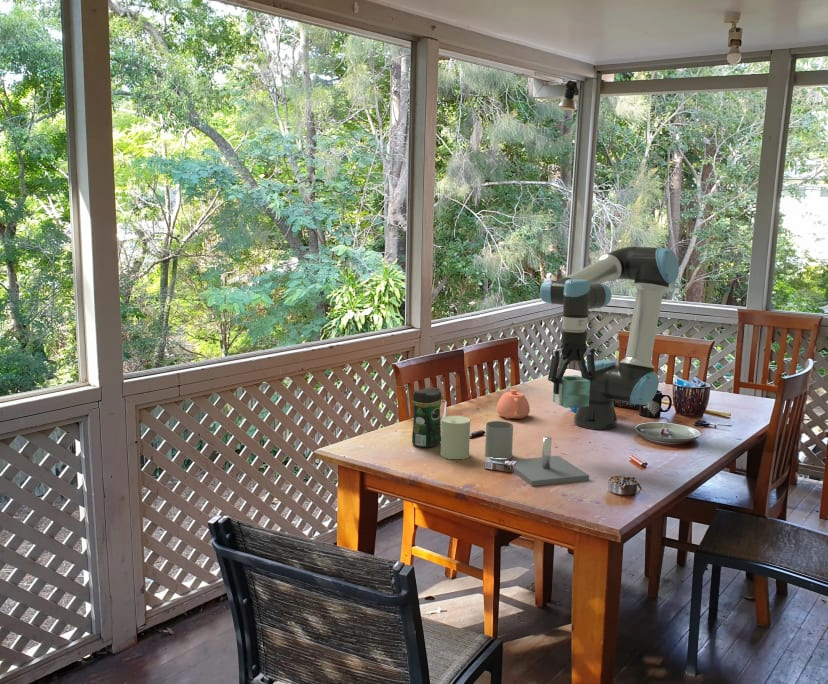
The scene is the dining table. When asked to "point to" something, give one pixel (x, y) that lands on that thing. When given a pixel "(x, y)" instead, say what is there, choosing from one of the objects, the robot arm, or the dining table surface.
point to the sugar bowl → (513, 405)
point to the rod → (546, 452)
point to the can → (455, 437)
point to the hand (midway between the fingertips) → (570, 402)
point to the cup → (499, 439)
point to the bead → (574, 391)
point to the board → (548, 471)
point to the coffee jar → (426, 417)
